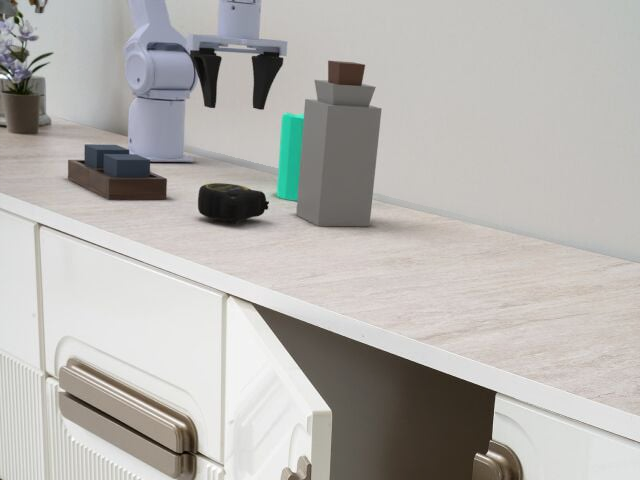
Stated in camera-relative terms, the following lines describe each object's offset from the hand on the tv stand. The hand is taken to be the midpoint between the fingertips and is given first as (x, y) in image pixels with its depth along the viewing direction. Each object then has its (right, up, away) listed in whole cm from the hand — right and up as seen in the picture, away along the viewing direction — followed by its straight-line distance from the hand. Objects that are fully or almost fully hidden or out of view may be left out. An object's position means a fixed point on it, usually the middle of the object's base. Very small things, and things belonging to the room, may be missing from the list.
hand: (234, 108), depth 157 cm
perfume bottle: (+13, -21, -21) cm, 33 cm away
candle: (+9, -15, -8) cm, 19 cm away
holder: (-14, -15, -14) cm, 25 cm away
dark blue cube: (-12, -16, -17) cm, 26 cm away
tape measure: (+2, -22, -27) cm, 35 cm away
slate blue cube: (-16, -13, -12) cm, 23 cm away
